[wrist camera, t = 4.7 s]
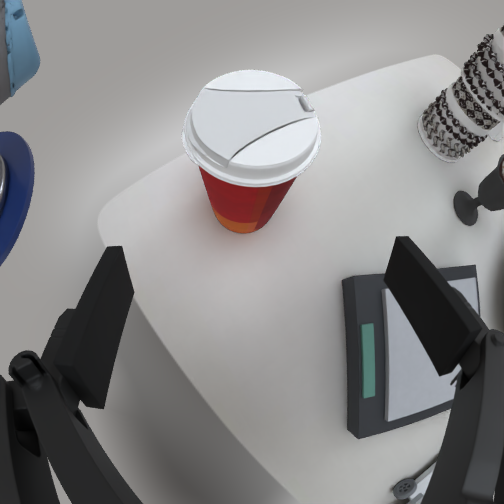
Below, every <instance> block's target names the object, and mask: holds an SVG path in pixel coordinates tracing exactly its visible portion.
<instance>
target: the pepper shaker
mask: <svg viewBox="0 0 504 504" xmlns="http://www.w3.org/2000/svg"><path fill="white" fill-rule="evenodd" d="M488 135H489V136H490V137H491V139H492V140H495V141H500V140H501V139H502V138H503V137H504V122H500V123H498V124H497V125H496V126H495V127H494V129H493V130H492V131H491V132H490V133H488Z"/></svg>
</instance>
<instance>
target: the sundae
mask: <svg viewBox="0 0 504 504" xmlns="http://www.w3.org/2000/svg"><path fill="white" fill-rule="evenodd" d="M480 205H483V206H484V207H485V208H486V209H488V210H490V211H496V210H501V209H504V154H503V155H502V156H501V157H500V159H499V162H498V166H497V167H496V168H495V169H494V170H493V171H492V172H491V173H490V174H489V175H488V176H487V177H486V178H485V179H484V180H483V181H482V182H481V183H480V185H479V189H478V197H477V198H475V199H473V198H472V197H471V196H470V195H469V194H468V193H467V192H464V191H458V192H457V193H456V195H455V198H454V206H455V210H456V213H457V215H458V217H459V218H460V220H461V221H462V222H464V223H465V224H467V225H474V224H475V223H476V221H477V218H478V210H477V207H478V206H480Z"/></svg>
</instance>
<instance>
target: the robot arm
mask: <svg viewBox="0 0 504 504" xmlns="http://www.w3.org/2000/svg"><path fill="white" fill-rule="evenodd" d="M39 65H40V57H39V53H38V51H37V48H36V45H35V42H34V39H33V36H32V33H31V30H30V27H29V24H28V21H27V17H26V14H25V11H24V7H23V4H22V1H21V0H0V105H1V104H2V103H3V102H4V101H5V100H6V99H8V98H9V97H12V96H13V95H14V94H15V92H16V91H17V90H18V89H19V88H20V87H21V86H22V85H23V84H24V83H26V82H27V81H28V80H29V79H31V78H32V77H33V76H34V75H35V74H36V72H37V70H38V68H39ZM9 182H10V173H9V167H8V164H7V161H6V160H5V158H4V157H3V156H2V155H0V218H1V215H2V213H3V210H4V207H5V204H6V200H7V196H8V191H9ZM383 281H384V282H385V284H386V285H387V287H388V288H389V290H390V292H391V293H392V295H393V296H394V298H395V300H396V301H397V303H398V304H399V306H400V308H401V309H402V311H403V313H404V314H405V316H406V318H407V319H408V321H409V323H410V324H411V326H412V328H413V330H414V331H415V333H416V335H417V337H418V338H419V340H420V342H421V344H422V345H423V347H424V349H425V351H426V353H427V354H428V356H429V358H430V360H431V362H432V364H433V366H434V367H435V369H436V371H437V373H438V375H439V377H440V376H443V375H446V374H449V373H452V372H453V370H454V369H455V368H456V366H457V365H458V364H459V365H460V367H461V370H460V371H459V372H458V374H457V375H456V376H455V377H454V379H453V380H452V381H451V383H450V385H453V383H454V382H455V381H456V380H457V383H456V385H455V387H456V388H455V394H454V399H453V403H452V408H451V412H450V417H449V421H448V425H447V428H446V432H445V436H444V439H443V443H442V446H441V449H440V453H439V456H438V459H437V462H436V465H435V468H434V471H433V473H432V476H431V479H430V481H429V484H428V487H427V489H426V492H425V494H424V497H423V499H422V501H421V504H504V334H503V333H501V332H500V331H498V330H495V329H491V330H489V329H488V327H487V326H486V325H485V323H484V322H483V321H482V319H481V318H480V316H479V315H478V314H477V312H476V311H475V310H474V308H472V306H471V304H470V303H469V302H467V299H466V298H465V297H464V295H463V294H462V293H461V292H460V291H458V290H457V289H456V288H455V287H451V285H450V284H449V283H448V282H447V280H446V279H445V278H444V277H443V276H442V274H441V273H440V272H439V271H438V270H437V268H436V267H435V266H434V265H433V264H432V263H431V261H430V260H429V259H428V258H427V257H426V256H425V254H424V253H423V252H422V251H421V250H420V249H419V248H418V247H417V245H416V244H415V243H414V242H413V241H412V240H411V239H410V238H409V237H408V236H397V237H396V239H395V243H394V246H393V250H392V253H391V257H390V260H389V263H388V267H387V270H386V273H385V276H384V279H383ZM133 295H134V289H133V286H132V282H131V279H130V275H129V271H128V268H127V264H126V260H125V256H124V252H123V248H122V246H109V247H107V248H106V250H105V252H104V253H103V255H102V257H101V259H100V261H99V263H98V265H97V266H96V268H95V270H94V272H93V274H92V276H91V278H90V280H89V282H88V284H87V286H86V288H85V290H84V292H83V294H82V296H81V299H80V300H79V303H78V305H77V307H76V309H66V311H65V312H64V313H63V314H62V315H61V316H60V317H59V318H58V321H57V323H56V325H55V329H53V331H52V334H51V337H50V338H49V340H48V343H47V345H46V348H45V350H44V352H43V354H42V357H41V359H40V358H39V357H38V356H37V354H36V353H35V352H33V351H23V352H20V353H18V354H17V355H16V356H15V357H14V358H13V359H12V361H11V362H10V365H9V375H10V376H11V377H12V378H13V380H14V381H6V380H5V379H4V378H3V377H2V375H0V504H60V502H59V499H58V496H57V493H56V489H55V486H54V482H53V479H52V475H51V471H50V467H49V463H48V460H49V462H50V463H51V466H52V468H53V470H54V472H55V473H56V476H57V478H58V479H59V481H60V483H61V485H62V487H63V489H64V491H65V492H66V494H67V496H68V497H69V499H70V501H71V503H72V504H143V503H142V502H141V501H140V500H139V498H138V497H137V496H136V495H135V493H134V492H133V491H132V489H131V488H130V487H129V486H128V484H127V483H126V482H125V480H124V479H123V477H122V476H121V475H120V473H119V472H118V470H117V469H116V468H115V466H114V465H113V463H112V462H111V460H110V459H109V457H108V456H107V454H106V453H105V451H104V450H103V448H102V446H101V445H100V443H99V442H98V440H97V439H96V437H95V435H94V433H93V432H92V430H91V428H90V427H89V425H88V423H87V421H86V419H85V418H84V416H83V414H82V412H81V411H80V410H79V408H78V405H79V401H80V400H81V401H82V402H83V403H84V404H85V406H86V407H92V408H99V409H104V406H105V401H106V397H107V392H108V388H109V383H110V379H111V374H112V371H113V366H114V362H115V358H116V354H117V350H118V347H119V343H120V339H121V336H122V332H123V329H124V325H125V322H126V318H127V315H128V311H129V308H130V305H131V302H132V298H133ZM47 457H48V459H47ZM494 491H495V495H494ZM493 495H494V502H493Z"/></svg>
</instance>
